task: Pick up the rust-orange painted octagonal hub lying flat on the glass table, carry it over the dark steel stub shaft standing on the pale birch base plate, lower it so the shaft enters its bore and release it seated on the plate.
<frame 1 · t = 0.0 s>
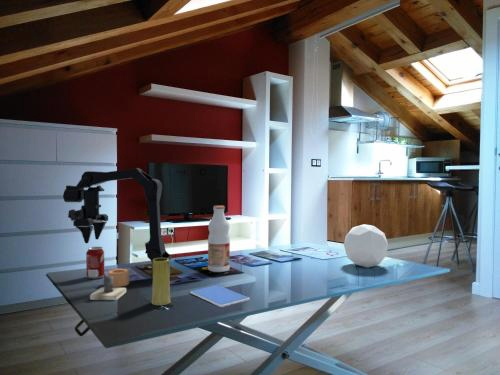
hand: (91, 241, 161), 15 cm above the table, tool pointing down, fingers open, 9 cm apart
fruit juice: (218, 270, 175), on the table
soda can: (95, 277, 161), on the table
geometric polyhedron: (365, 266, 183), on the table
hub: (118, 284, 151), on the table
shaft block: (108, 295, 137), on the table
tablet computer: (219, 298, 137), on the table
vase: (161, 303, 130), on the table
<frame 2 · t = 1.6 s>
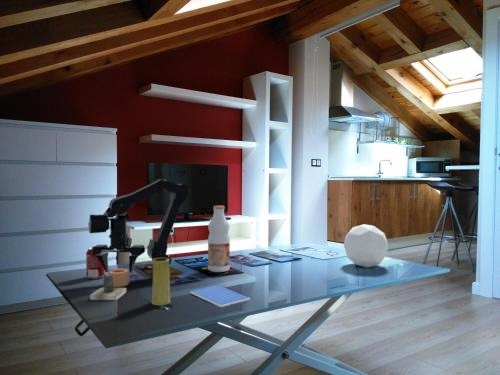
hand: (118, 272, 151), 5 cm above the table, tool pointing down, fingers open, 9 cm apart
nothing on the table moved.
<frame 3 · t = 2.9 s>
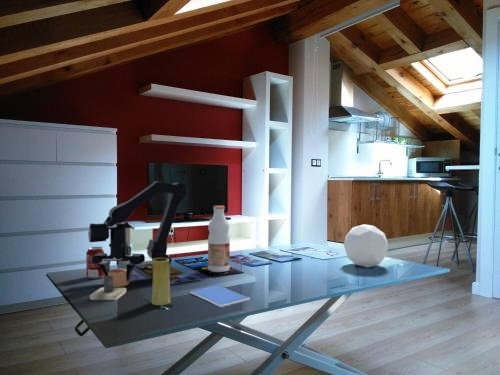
hand: (118, 281, 151), 1 cm above the table, tool pointing down, fingers closed on hub, 7 cm apart
hub: (118, 284, 151), on the table, touching gripper
everything else where it was.
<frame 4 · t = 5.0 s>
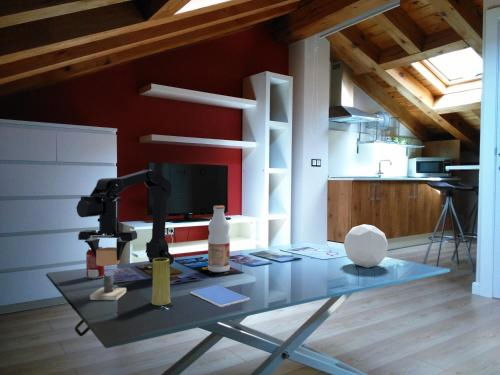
hand: (108, 260, 137), 12 cm above the table, tool pointing down, fingers closed on hub, 7 cm apart
hub: (108, 263, 137), point 11 cm above the table, touching gripper
everything else where it was.
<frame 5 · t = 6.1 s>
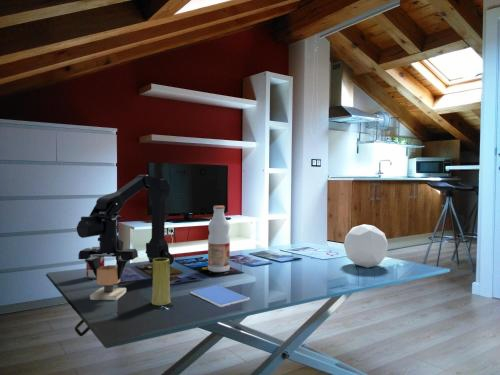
hand: (108, 278, 137), 6 cm above the table, tool pointing down, fingers closed on hub, 7 cm apart
hub: (108, 282, 137), point 5 cm above the table, touching gripper
everything else where it was.
when the fingers open (4 cm above the table, at t = 7.1 s): hub stays where it is, resting on shaft block.
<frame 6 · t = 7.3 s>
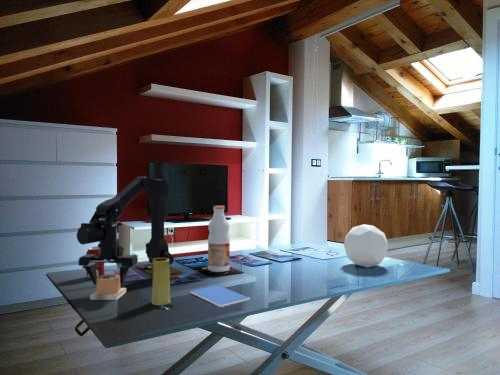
hand: (108, 285, 137), 4 cm above the table, tool pointing down, fingers open, 9 cm apart
hub: (108, 291, 137), point 1 cm above the table, touching shaft block
everything else where it was.
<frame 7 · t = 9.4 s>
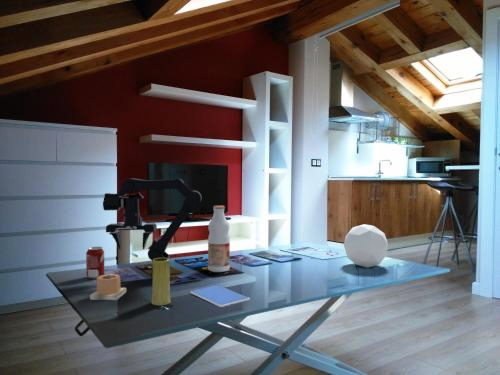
hand: (132, 249, 158), 12 cm above the table, tool pointing down, fingers open, 9 cm apart
nothing on the table moved.
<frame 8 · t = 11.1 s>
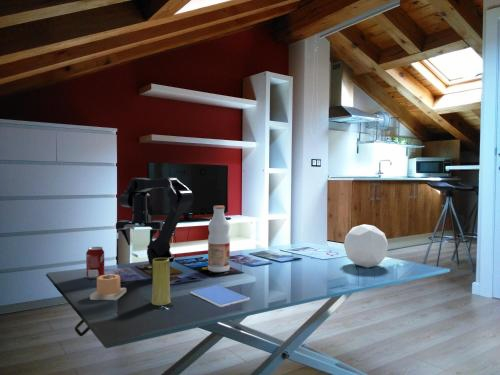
hand: (140, 245, 167), 12 cm above the table, tool pointing down, fingers open, 9 cm apart
nothing on the table moved.
at the end: hub 0.0 cm off-centre on the shaft block, point 1.5 cm above the shaft block's base; hub tilted 0°; the gripper is holding nothing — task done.
